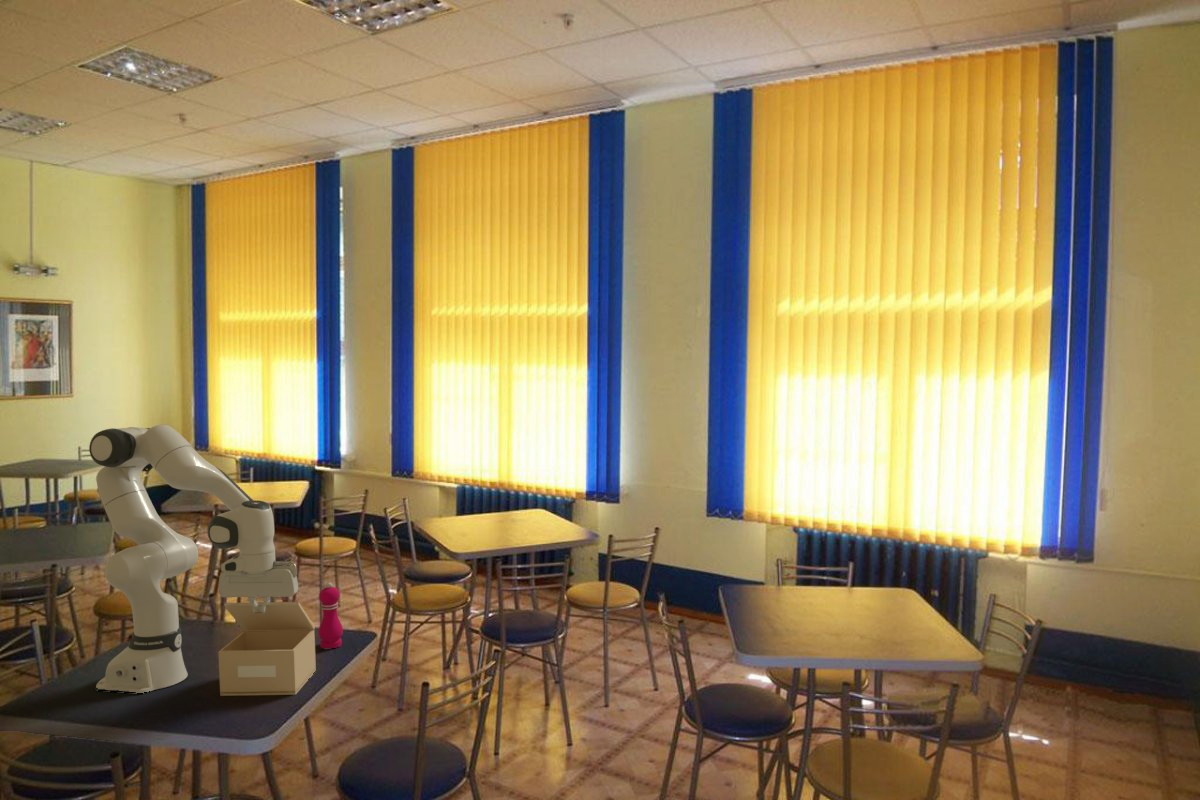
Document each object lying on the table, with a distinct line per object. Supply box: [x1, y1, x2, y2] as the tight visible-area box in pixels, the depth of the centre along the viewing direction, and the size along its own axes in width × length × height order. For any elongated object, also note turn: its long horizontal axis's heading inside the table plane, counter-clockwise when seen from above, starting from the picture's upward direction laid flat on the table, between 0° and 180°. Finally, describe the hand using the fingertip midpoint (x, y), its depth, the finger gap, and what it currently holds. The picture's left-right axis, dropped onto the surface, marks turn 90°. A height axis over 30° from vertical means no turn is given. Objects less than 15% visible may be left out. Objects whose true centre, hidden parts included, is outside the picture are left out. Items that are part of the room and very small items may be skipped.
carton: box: [217, 629, 317, 697], centre depth 229 cm, size 20×16×12 cm
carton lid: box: [223, 601, 316, 631], centre depth 231 cm, size 20×16×1 cm
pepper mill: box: [318, 581, 344, 649], centre depth 257 cm, size 7×7×20 cm
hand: (259, 612), depth 224 cm, fingers closed, pressing on carton lid
